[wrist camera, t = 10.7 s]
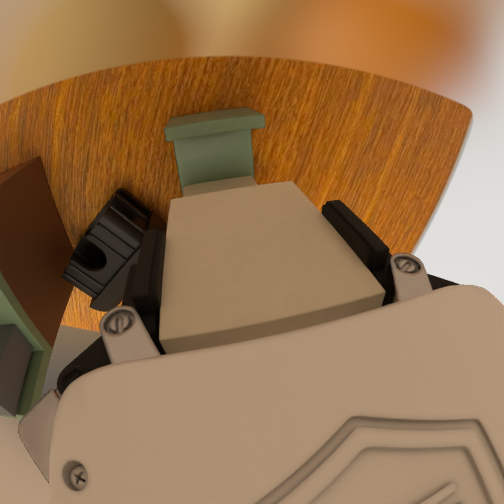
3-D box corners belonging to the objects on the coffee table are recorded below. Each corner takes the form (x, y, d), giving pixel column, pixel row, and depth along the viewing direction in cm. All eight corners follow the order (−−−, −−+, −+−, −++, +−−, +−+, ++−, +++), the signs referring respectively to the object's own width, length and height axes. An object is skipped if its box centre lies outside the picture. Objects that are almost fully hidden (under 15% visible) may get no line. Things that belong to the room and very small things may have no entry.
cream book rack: (170, 117, 22) (158, 138, 14) (247, 106, 23) (279, 121, 15) (197, 261, 32) (204, 328, 24) (258, 250, 33) (283, 313, 24)
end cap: (122, 280, 31) (114, 322, 26) (75, 247, 27) (56, 286, 22) (175, 224, 29) (174, 262, 23) (123, 181, 25) (106, 212, 19)
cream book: (170, 199, 14) (158, 340, 7) (292, 180, 15) (386, 291, 8) (177, 232, 15) (178, 378, 8) (292, 213, 16) (372, 333, 9)
